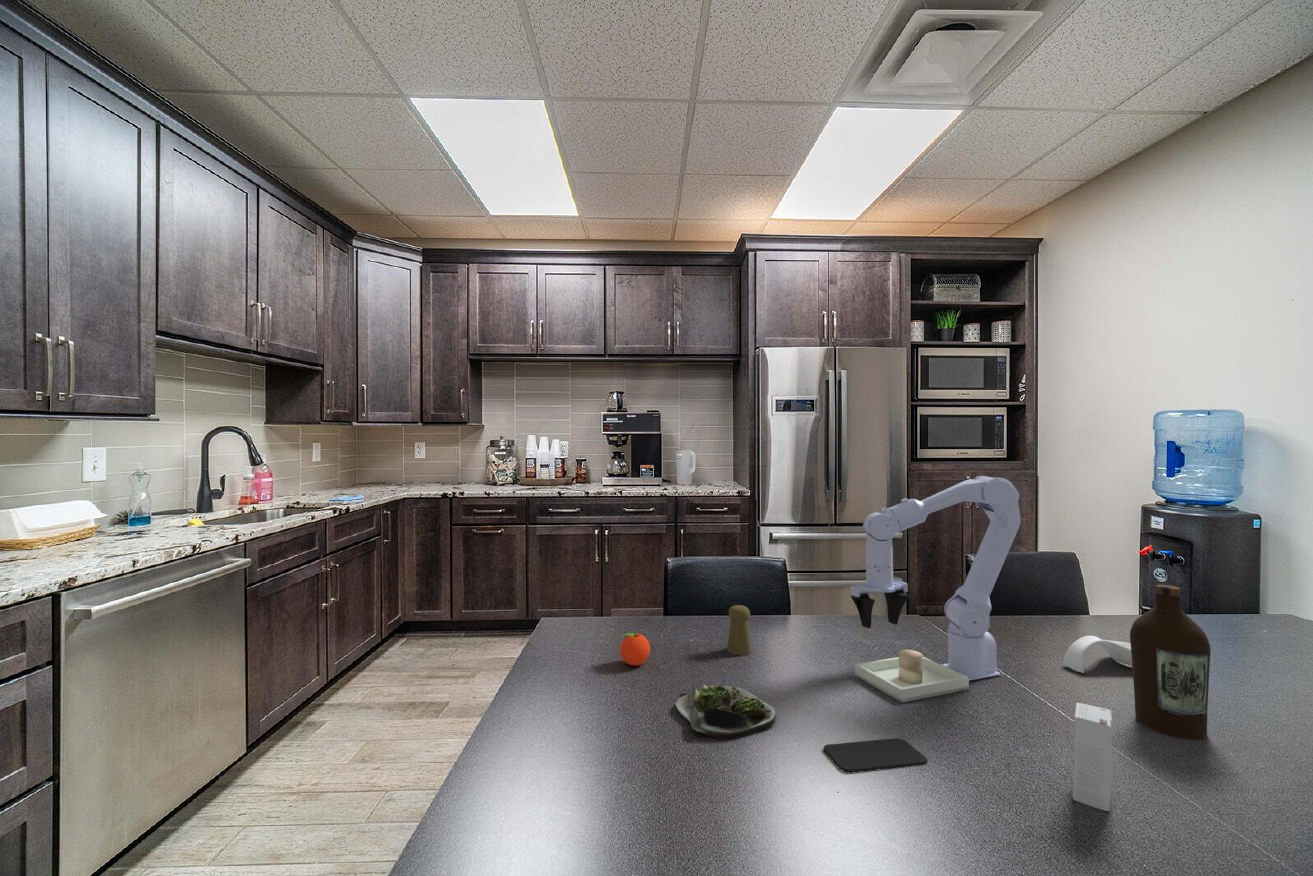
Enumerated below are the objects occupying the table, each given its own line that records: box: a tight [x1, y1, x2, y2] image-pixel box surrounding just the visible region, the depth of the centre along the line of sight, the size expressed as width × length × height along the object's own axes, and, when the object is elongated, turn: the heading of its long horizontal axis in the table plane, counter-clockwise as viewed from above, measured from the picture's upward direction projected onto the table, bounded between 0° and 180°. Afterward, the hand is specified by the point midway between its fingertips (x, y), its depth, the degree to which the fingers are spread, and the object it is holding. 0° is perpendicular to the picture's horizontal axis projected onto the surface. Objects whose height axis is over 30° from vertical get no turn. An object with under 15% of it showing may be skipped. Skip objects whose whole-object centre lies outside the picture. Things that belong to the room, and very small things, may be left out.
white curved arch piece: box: [1062, 635, 1132, 674], centre depth 125 cm, size 24×12×7 cm, turn 103°
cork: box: [726, 604, 753, 656], centre depth 134 cm, size 6×6×11 cm
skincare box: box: [1071, 702, 1113, 812], centre depth 78 cm, size 6×4×12 cm
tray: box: [854, 656, 970, 703], centre depth 117 cm, size 18×14×2 cm
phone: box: [823, 737, 928, 774], centre depth 89 cm, size 7×1×15 cm
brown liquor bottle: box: [1129, 584, 1211, 740], centre depth 99 cm, size 11×11×25 cm
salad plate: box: [675, 684, 777, 740], centre depth 104 cm, size 19×18×5 cm
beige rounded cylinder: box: [898, 649, 924, 684], centre depth 117 cm, size 5×5×6 cm
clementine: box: [617, 632, 651, 667], centre depth 126 cm, size 8×7×7 cm
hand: (879, 625), depth 125 cm, fingers open, 7 cm apart
